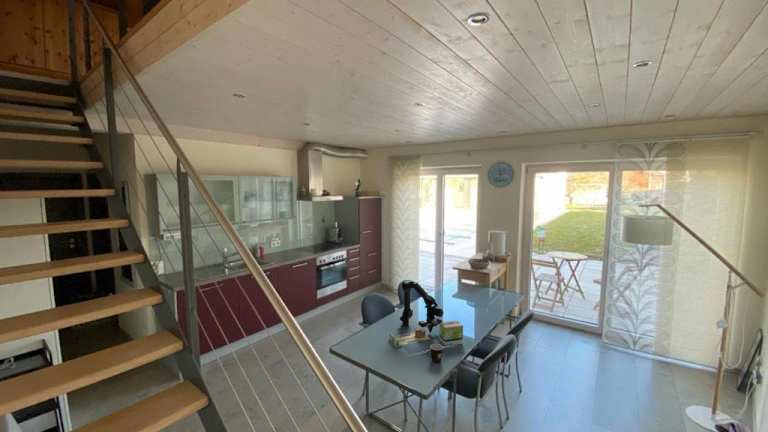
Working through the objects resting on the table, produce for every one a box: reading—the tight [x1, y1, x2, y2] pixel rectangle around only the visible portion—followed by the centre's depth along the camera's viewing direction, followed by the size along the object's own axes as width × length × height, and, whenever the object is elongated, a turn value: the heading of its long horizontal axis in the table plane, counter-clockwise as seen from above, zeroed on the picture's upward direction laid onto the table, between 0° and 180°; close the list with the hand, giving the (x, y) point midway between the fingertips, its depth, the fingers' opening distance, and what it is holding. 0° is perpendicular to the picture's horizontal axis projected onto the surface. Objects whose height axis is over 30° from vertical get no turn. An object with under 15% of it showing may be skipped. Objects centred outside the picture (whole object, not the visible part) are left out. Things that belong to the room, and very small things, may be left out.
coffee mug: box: [426, 343, 444, 364], centre depth 222 cm, size 12×9×10 cm
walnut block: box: [414, 327, 427, 338], centre depth 254 cm, size 6×6×5 cm
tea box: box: [438, 320, 464, 347], centre depth 247 cm, size 15×10×15 cm, turn 105°
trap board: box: [389, 331, 431, 349], centre depth 251 cm, size 15×28×5 cm, turn 112°
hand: (430, 332), depth 258 cm, fingers closed
